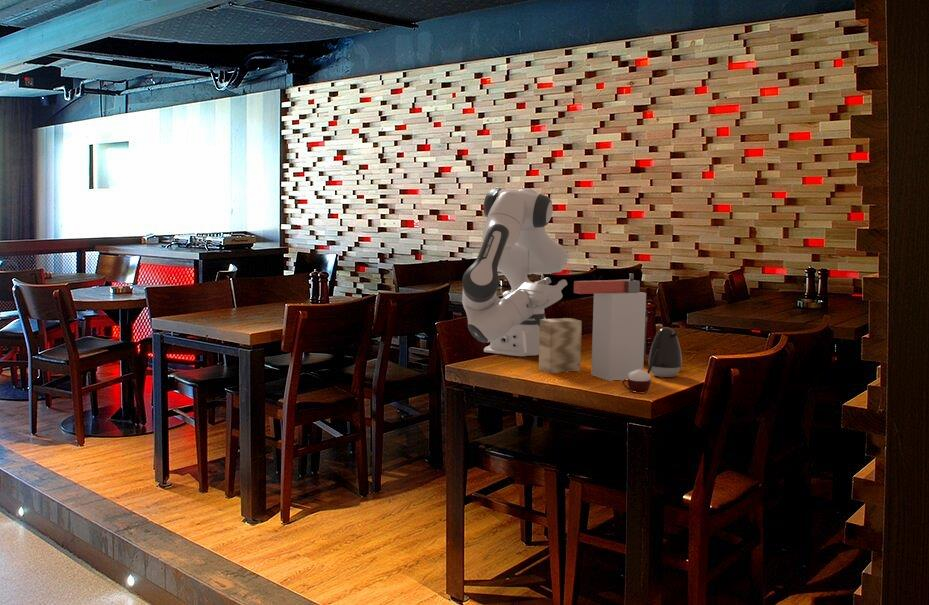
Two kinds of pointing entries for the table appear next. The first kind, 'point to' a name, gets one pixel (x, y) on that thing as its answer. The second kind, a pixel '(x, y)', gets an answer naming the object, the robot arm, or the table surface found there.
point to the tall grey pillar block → (618, 334)
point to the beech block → (560, 345)
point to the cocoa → (640, 378)
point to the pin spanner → (607, 286)
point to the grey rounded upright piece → (665, 353)
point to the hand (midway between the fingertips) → (557, 280)
